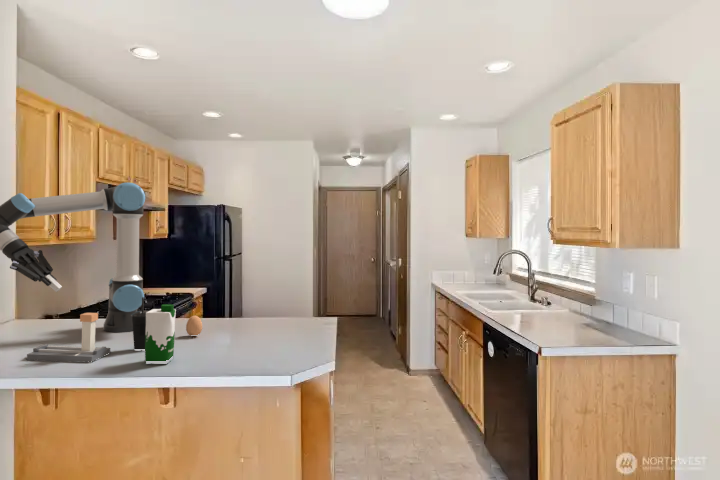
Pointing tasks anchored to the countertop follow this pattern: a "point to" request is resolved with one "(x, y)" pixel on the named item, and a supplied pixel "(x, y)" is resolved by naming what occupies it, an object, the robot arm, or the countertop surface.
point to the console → (66, 353)
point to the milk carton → (160, 333)
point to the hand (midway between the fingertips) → (59, 289)
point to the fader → (88, 331)
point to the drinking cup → (139, 327)
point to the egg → (194, 325)
